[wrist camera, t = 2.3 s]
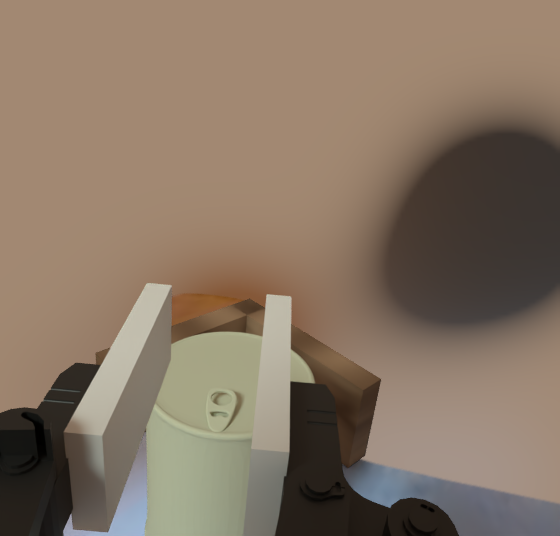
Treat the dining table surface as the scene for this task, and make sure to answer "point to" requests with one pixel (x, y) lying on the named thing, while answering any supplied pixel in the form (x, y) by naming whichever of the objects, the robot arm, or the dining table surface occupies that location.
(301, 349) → the v stop
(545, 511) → the dining table surface
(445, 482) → the dining table surface
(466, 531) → the dining table surface
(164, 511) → the can
